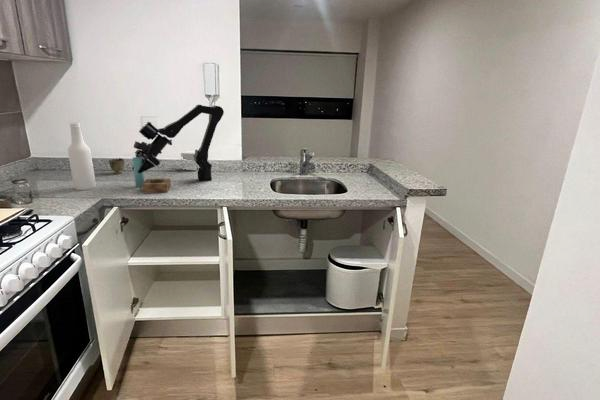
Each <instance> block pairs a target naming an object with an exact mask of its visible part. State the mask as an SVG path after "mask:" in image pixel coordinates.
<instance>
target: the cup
mask: <svg viewBox="0 0 600 400" xmlns="http://www.w3.org/2000/svg"><path fill="white" fill-rule="evenodd" d="M108 163H109V167H110V169H111V170H112V171H113V172H114V174H116V175H119V174H122V172H123V170H124V167H125V166H124V165H125V159H124V158H119V157H117V158H110V159H108Z"/></svg>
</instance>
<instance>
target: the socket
mask: <svg viewBox="0 0 600 400" xmlns="http://www.w3.org/2000/svg"><path fill="white" fill-rule="evenodd" d="M171 183H172V182H171V178H146V179H144V183H143V184H142V187H141V189H142V193H143V194H153V193H154V194H155V193H156V194H157V193H168V192H169V190H170V188H171V187H172V186H171V185H172V184H171Z"/></svg>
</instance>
